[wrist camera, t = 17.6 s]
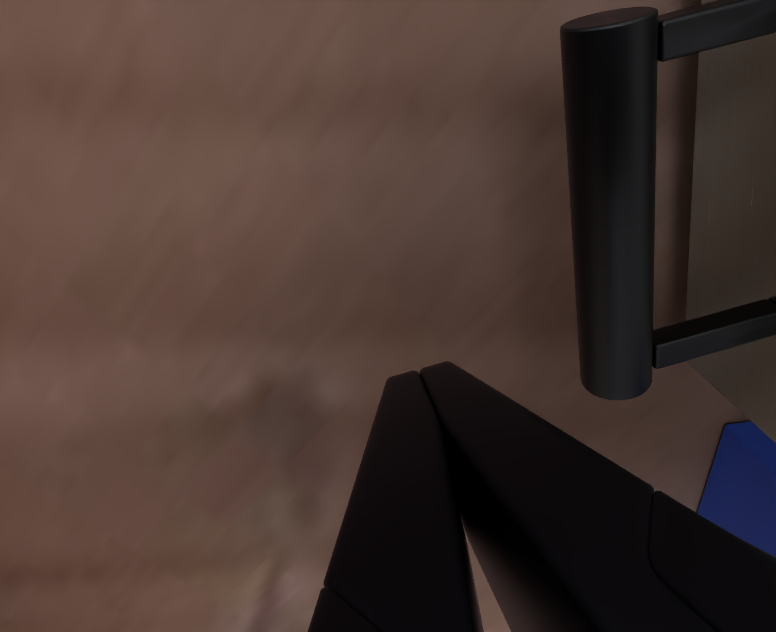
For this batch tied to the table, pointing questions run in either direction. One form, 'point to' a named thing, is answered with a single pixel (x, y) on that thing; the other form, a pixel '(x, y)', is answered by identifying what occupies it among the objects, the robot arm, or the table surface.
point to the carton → (743, 486)
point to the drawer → (708, 205)
